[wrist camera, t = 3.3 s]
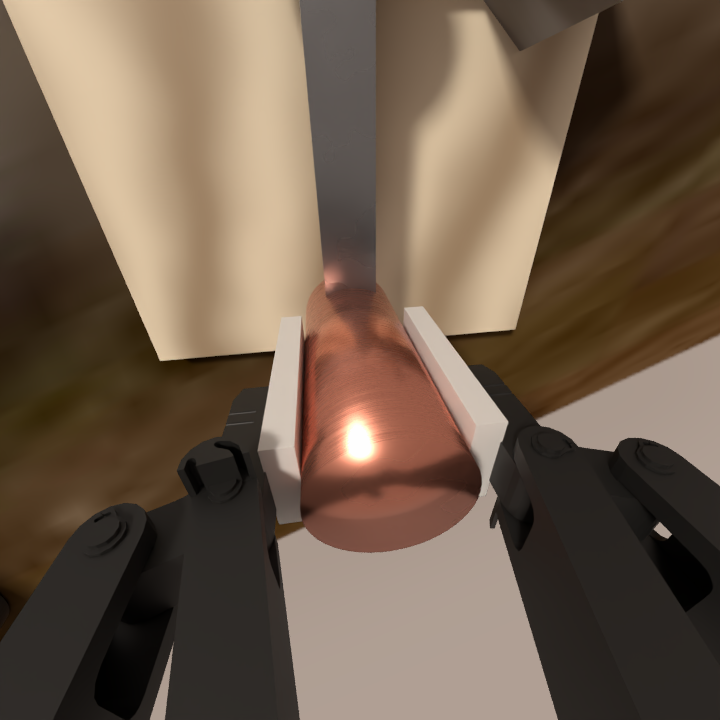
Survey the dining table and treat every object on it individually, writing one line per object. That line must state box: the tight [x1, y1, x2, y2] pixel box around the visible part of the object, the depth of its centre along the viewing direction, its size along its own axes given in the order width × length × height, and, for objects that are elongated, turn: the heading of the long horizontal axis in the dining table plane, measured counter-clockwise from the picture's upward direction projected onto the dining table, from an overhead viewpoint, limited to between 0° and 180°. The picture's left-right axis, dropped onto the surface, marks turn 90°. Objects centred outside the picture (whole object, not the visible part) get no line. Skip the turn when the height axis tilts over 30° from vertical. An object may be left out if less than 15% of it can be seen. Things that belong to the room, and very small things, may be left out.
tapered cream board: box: [3, 0, 623, 361], centre depth 12 cm, size 21×21×6 cm
